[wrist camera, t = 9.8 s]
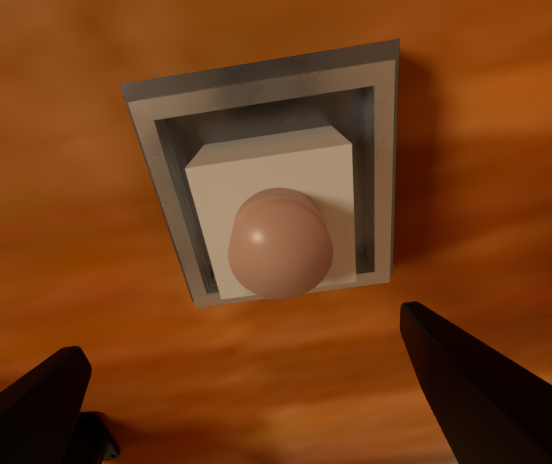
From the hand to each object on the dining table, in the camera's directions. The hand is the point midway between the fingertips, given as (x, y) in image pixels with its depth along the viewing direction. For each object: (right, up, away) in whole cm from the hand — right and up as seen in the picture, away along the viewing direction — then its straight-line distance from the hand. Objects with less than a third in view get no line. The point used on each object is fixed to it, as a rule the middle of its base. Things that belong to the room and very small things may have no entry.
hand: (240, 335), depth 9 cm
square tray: (+1, +6, +10) cm, 12 cm away
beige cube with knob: (+1, +5, +7) cm, 9 cm away
